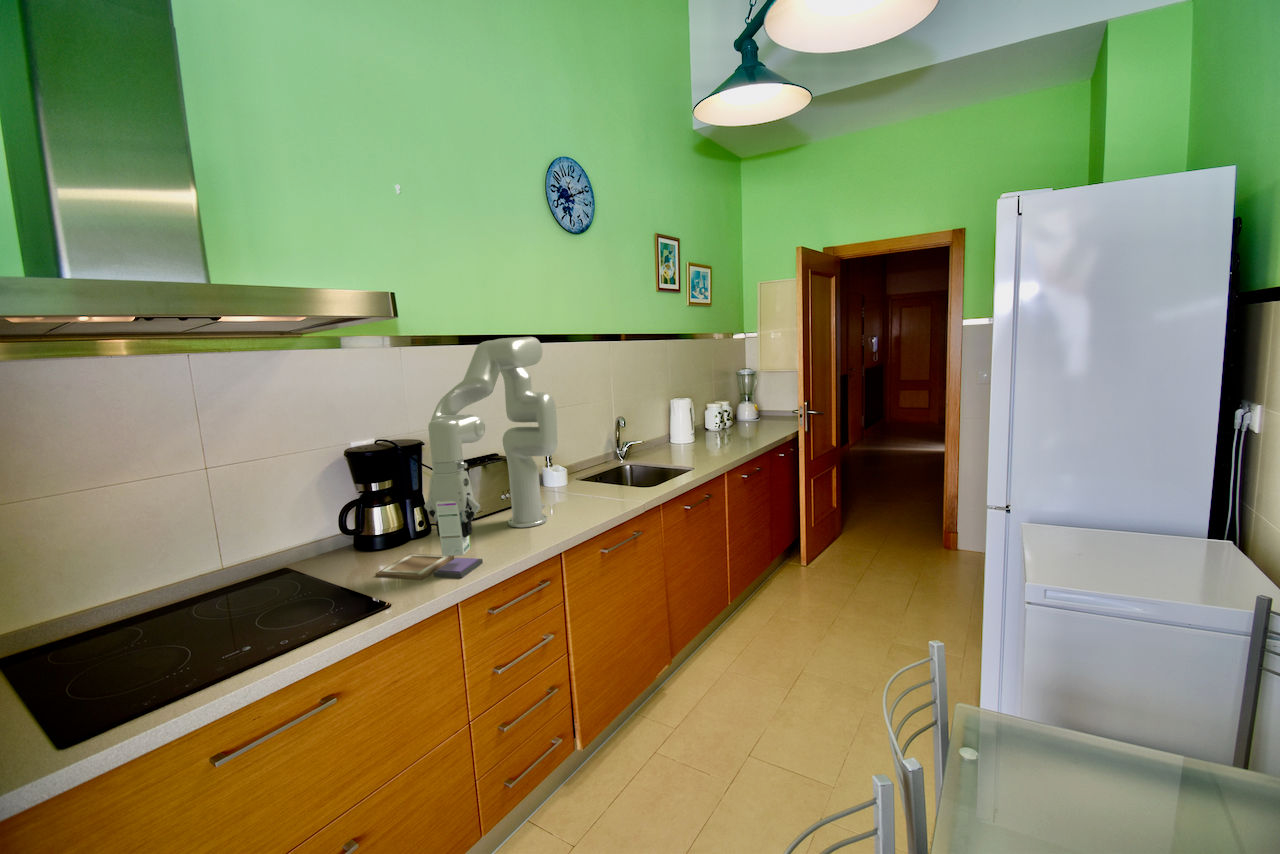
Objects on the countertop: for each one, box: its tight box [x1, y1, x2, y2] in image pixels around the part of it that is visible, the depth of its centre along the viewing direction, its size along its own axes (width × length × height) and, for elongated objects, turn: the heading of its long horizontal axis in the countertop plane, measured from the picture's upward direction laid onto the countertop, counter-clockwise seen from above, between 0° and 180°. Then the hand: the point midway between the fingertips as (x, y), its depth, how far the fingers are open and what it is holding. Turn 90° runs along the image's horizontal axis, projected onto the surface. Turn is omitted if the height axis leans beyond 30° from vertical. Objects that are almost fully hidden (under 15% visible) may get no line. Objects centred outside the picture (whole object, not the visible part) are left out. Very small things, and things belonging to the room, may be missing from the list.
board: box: [374, 553, 455, 580], centre depth 149 cm, size 14×14×1 cm
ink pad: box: [433, 557, 483, 579], centre depth 146 cm, size 8×10×2 cm
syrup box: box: [436, 500, 472, 557], centre depth 144 cm, size 6×6×14 cm
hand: (454, 534), depth 144 cm, fingers closed on syrup box, 6 cm apart
